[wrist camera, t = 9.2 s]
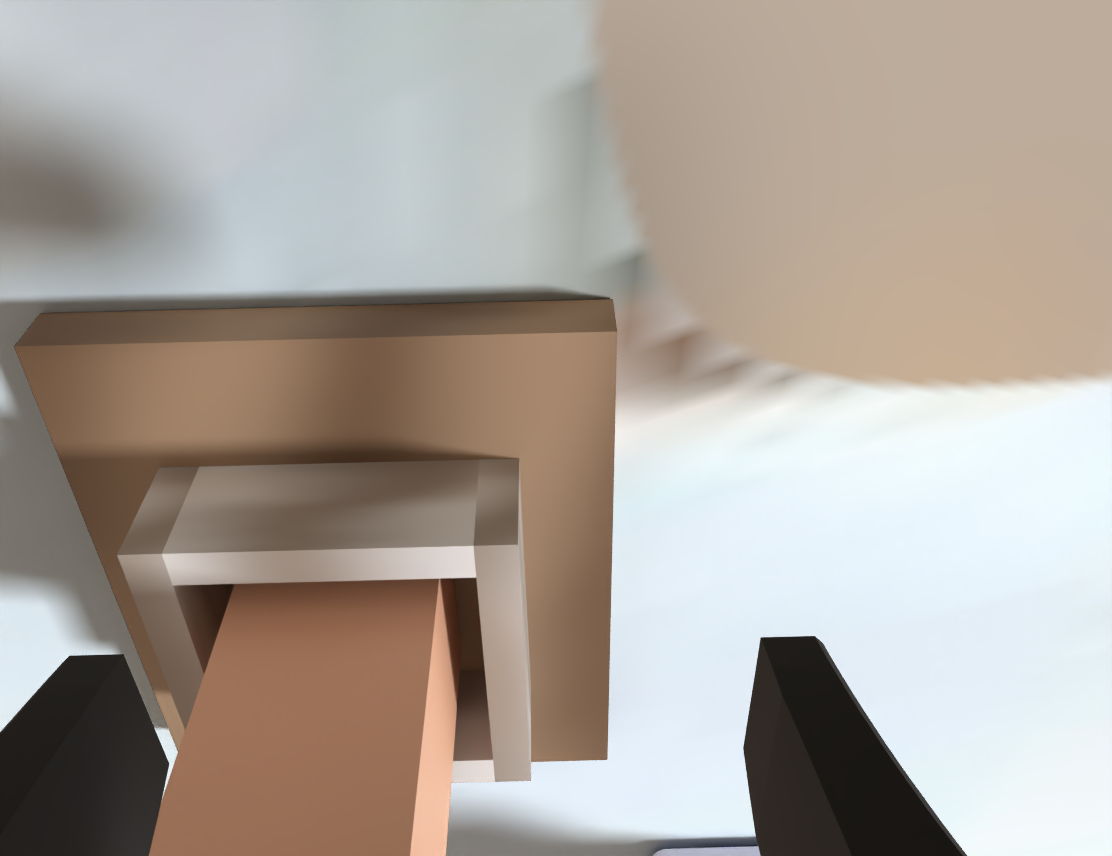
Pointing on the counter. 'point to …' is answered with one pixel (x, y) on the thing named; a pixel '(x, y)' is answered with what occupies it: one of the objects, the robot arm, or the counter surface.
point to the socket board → (357, 486)
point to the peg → (321, 725)
